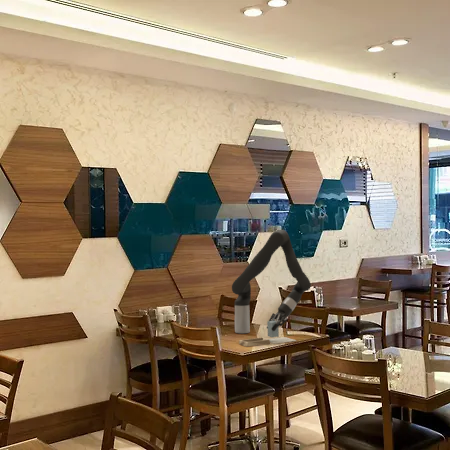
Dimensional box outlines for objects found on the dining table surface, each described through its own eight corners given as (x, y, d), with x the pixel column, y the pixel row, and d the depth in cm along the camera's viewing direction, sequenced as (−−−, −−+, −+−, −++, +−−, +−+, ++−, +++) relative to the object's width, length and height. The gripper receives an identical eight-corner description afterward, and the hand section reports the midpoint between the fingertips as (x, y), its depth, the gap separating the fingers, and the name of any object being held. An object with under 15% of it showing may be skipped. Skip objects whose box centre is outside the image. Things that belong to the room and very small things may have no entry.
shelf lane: (239, 344, 329) (239, 340, 329) (262, 341, 337) (261, 337, 337) (246, 346, 322) (246, 342, 322) (269, 343, 329) (269, 339, 329)
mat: (263, 340, 339) (263, 339, 339) (284, 337, 346) (284, 336, 346) (274, 343, 328) (274, 343, 328) (296, 340, 335) (296, 340, 335)
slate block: (267, 336, 336) (267, 321, 336) (274, 335, 338) (274, 320, 338) (271, 337, 332) (271, 322, 332) (278, 336, 334) (278, 321, 334)
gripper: (276, 301, 345) (259, 323, 339) (290, 304, 332) (272, 327, 327) (284, 309, 347) (267, 331, 342) (298, 312, 335) (281, 335, 329)
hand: (270, 329), depth 334 cm, fingers closed on slate block, 4 cm apart
